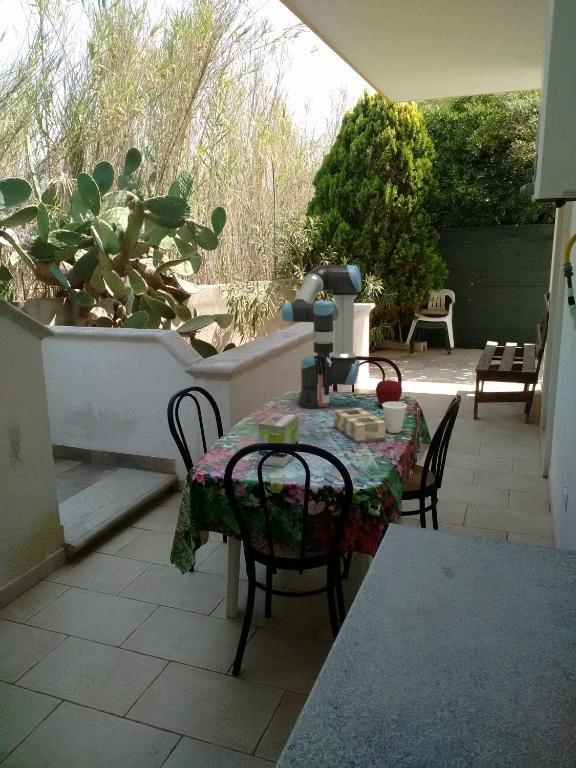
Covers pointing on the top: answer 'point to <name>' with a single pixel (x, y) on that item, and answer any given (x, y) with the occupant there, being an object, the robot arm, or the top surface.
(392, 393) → the apple
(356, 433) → the hole block
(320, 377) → the peg
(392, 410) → the cup
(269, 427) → the tea box
